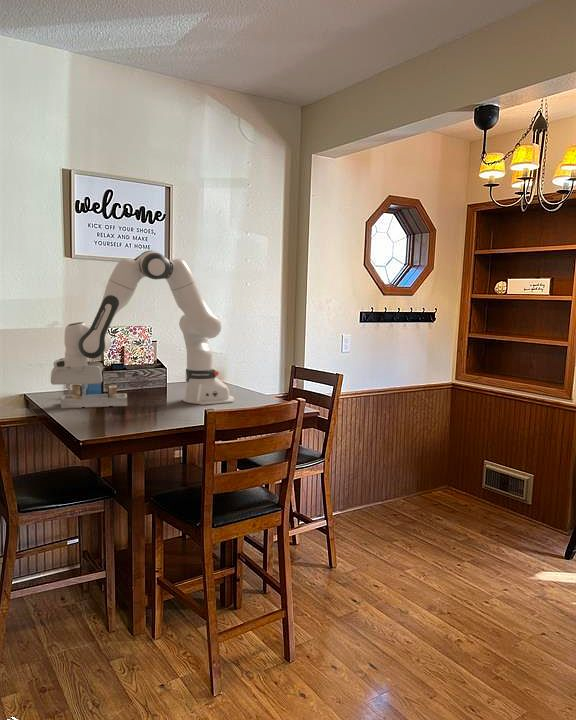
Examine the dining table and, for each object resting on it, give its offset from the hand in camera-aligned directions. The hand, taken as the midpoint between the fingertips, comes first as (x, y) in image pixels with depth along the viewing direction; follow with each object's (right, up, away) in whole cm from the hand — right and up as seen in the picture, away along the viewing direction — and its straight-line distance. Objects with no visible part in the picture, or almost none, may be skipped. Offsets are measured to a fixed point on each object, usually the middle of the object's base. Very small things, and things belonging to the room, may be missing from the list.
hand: (77, 394), depth 239 cm
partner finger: (+13, -3, +4) cm, 14 cm away
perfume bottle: (-1, -2, +20) cm, 20 cm away
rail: (+7, -4, +3) cm, 8 cm away
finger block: (0, -2, 0) cm, 2 cm away
